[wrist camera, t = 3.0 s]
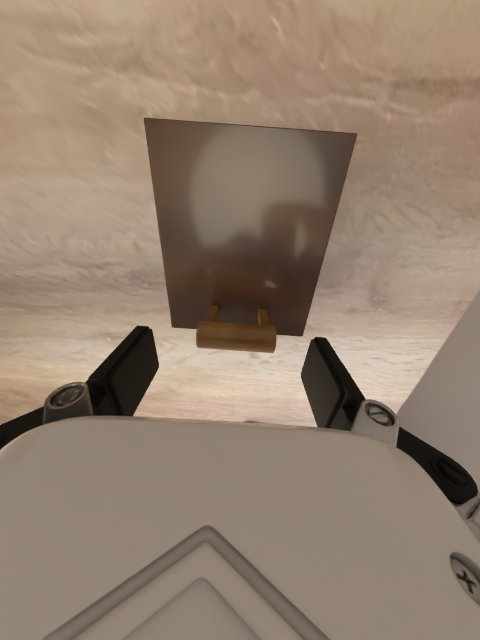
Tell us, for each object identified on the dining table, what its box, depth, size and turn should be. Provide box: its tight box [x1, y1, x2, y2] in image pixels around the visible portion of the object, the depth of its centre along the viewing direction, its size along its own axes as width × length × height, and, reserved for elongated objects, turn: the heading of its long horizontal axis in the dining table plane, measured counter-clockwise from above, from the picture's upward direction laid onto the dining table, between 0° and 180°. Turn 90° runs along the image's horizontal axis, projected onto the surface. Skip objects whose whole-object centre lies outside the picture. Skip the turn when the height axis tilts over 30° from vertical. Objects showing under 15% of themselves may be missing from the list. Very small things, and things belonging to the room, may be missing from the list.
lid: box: [144, 118, 357, 353], centre depth 12 cm, size 14×12×6 cm
